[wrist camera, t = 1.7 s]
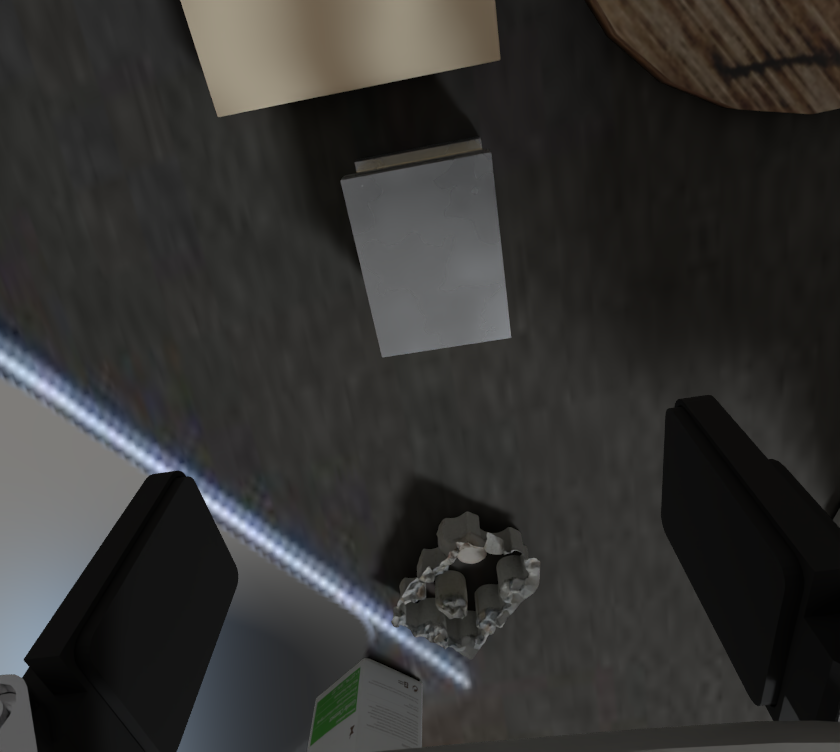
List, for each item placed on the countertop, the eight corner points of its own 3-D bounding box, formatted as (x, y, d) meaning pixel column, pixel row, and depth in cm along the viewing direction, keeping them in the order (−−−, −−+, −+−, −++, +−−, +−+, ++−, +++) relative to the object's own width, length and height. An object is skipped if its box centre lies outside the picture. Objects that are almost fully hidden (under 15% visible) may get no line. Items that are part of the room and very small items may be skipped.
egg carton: (453, 497, 38) (456, 542, 34) (544, 536, 40) (556, 582, 36) (384, 590, 42) (380, 638, 39) (467, 622, 44) (471, 670, 41)
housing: (478, 135, 26) (491, 152, 21) (496, 291, 30) (511, 337, 25) (357, 158, 27) (340, 180, 22) (390, 308, 31) (382, 357, 26)
